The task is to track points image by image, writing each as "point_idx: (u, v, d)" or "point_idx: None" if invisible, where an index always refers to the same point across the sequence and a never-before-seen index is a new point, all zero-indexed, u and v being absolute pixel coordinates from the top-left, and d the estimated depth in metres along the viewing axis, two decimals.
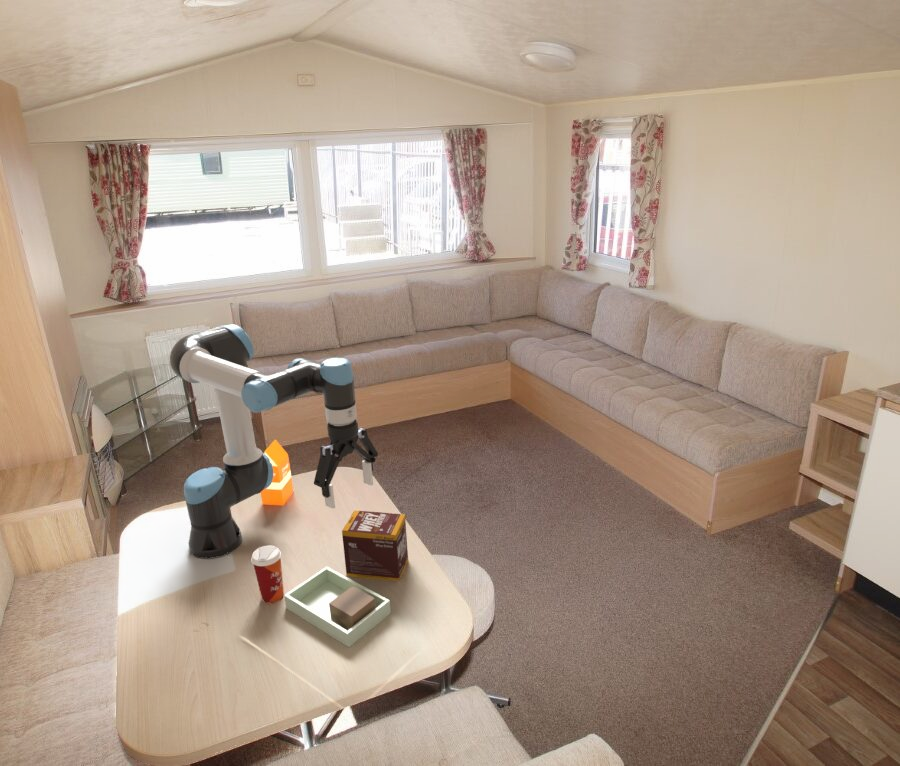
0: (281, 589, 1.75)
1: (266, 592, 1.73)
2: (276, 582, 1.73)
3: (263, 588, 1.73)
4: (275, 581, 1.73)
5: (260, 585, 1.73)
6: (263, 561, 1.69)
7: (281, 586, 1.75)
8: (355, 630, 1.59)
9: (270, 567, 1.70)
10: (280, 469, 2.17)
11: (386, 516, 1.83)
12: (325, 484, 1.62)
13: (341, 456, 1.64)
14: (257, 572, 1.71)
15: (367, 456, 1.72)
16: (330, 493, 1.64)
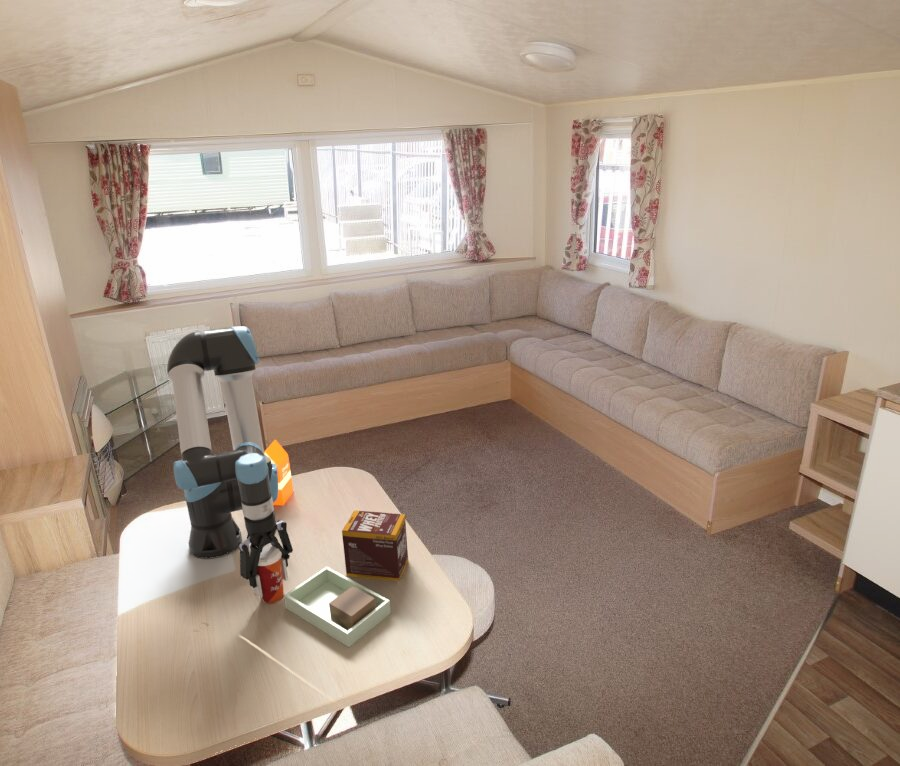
0: (281, 589, 1.75)
1: (266, 592, 1.73)
2: (276, 582, 1.73)
3: (263, 588, 1.73)
4: (275, 581, 1.73)
5: None
6: (263, 561, 1.69)
7: (281, 586, 1.75)
8: (355, 630, 1.59)
9: (270, 567, 1.70)
10: (280, 469, 2.17)
11: (386, 516, 1.83)
12: (251, 576, 1.69)
13: (260, 548, 1.68)
14: (257, 571, 1.71)
15: (282, 551, 1.75)
16: (257, 583, 1.71)
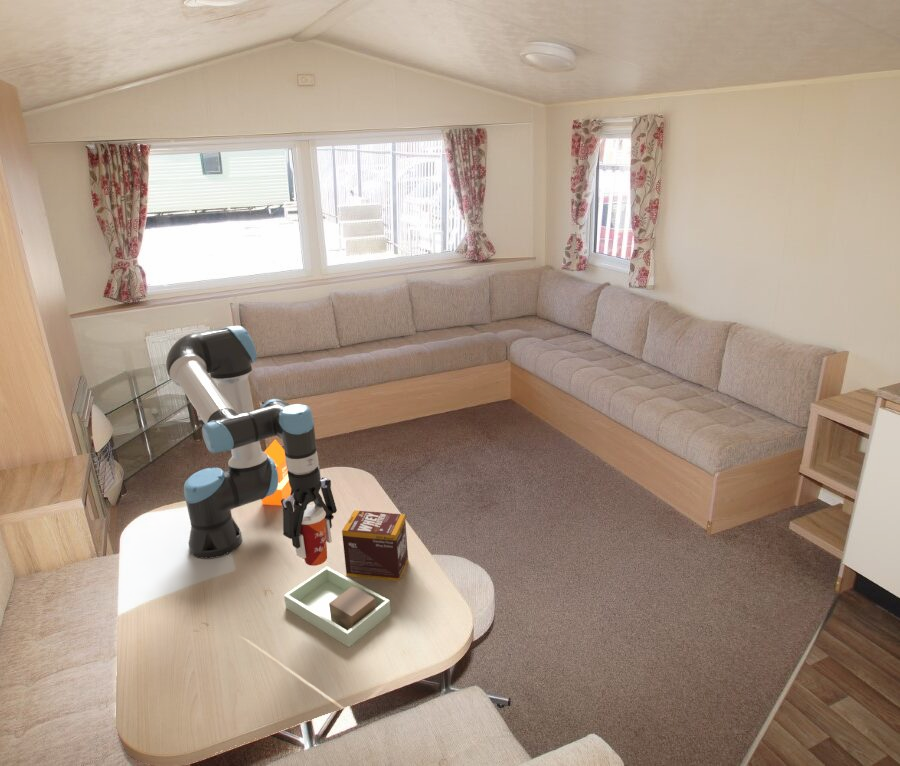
0: (325, 551, 1.66)
1: (309, 553, 1.64)
2: (320, 543, 1.63)
3: (307, 549, 1.63)
4: (319, 541, 1.63)
5: None
6: (307, 519, 1.60)
7: (325, 548, 1.66)
8: (355, 630, 1.59)
9: (315, 526, 1.61)
10: (280, 469, 2.17)
11: (386, 516, 1.83)
12: (295, 536, 1.59)
13: (304, 505, 1.59)
14: (301, 531, 1.62)
15: (326, 511, 1.66)
16: (300, 544, 1.61)
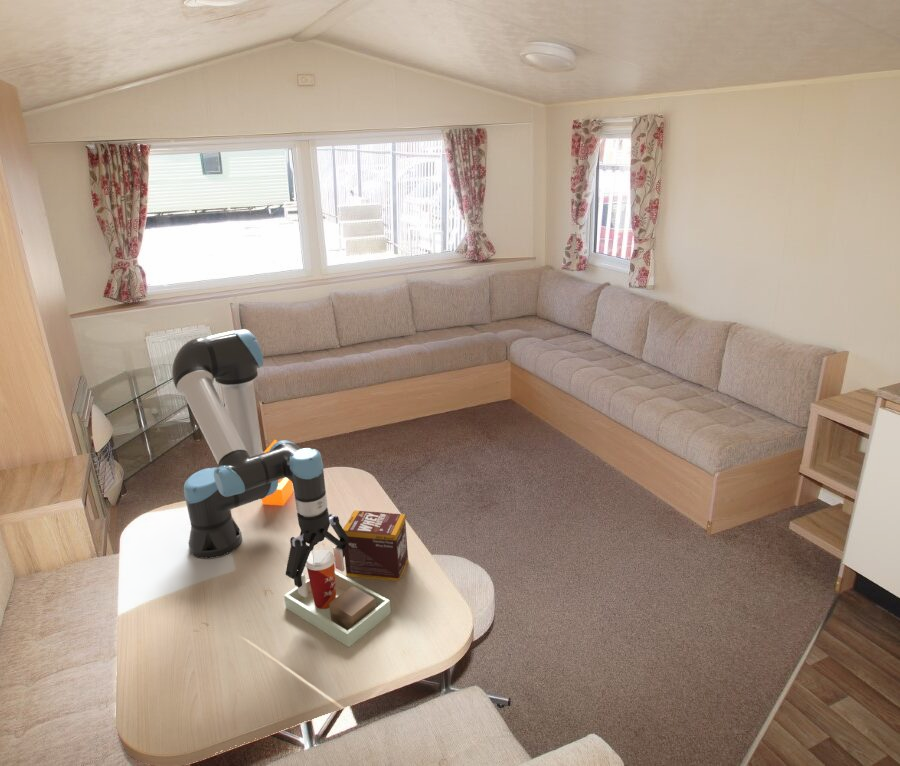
0: (334, 594, 1.72)
1: (319, 597, 1.69)
2: (330, 587, 1.69)
3: (317, 593, 1.69)
4: (329, 586, 1.69)
5: (314, 590, 1.69)
6: (318, 565, 1.66)
7: (334, 591, 1.71)
8: (355, 630, 1.59)
9: (325, 572, 1.66)
10: None
11: (386, 516, 1.83)
12: (297, 575, 1.62)
13: (312, 546, 1.63)
14: (311, 576, 1.67)
15: (338, 543, 1.71)
16: (302, 583, 1.64)
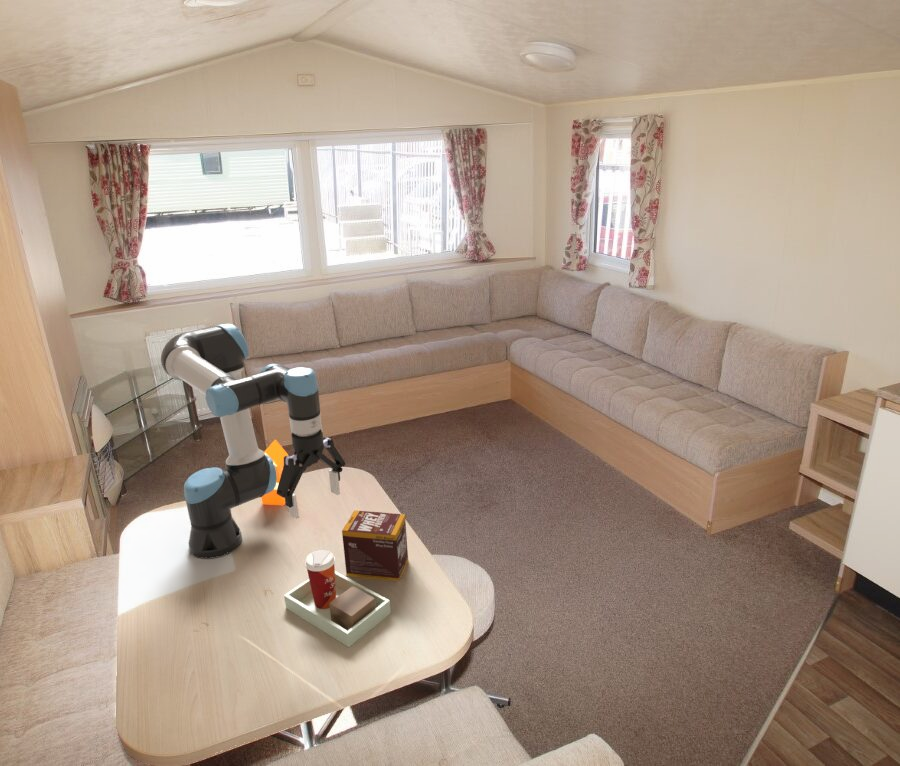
0: (334, 595, 1.72)
1: (319, 598, 1.69)
2: (330, 588, 1.69)
3: (317, 594, 1.69)
4: (329, 586, 1.69)
5: (314, 591, 1.69)
6: (318, 566, 1.65)
7: (334, 592, 1.71)
8: (355, 630, 1.59)
9: (325, 573, 1.66)
10: (280, 469, 2.17)
11: (386, 516, 1.83)
12: (288, 494, 1.61)
13: (305, 466, 1.62)
14: (311, 577, 1.67)
15: (333, 466, 1.70)
16: (293, 503, 1.63)
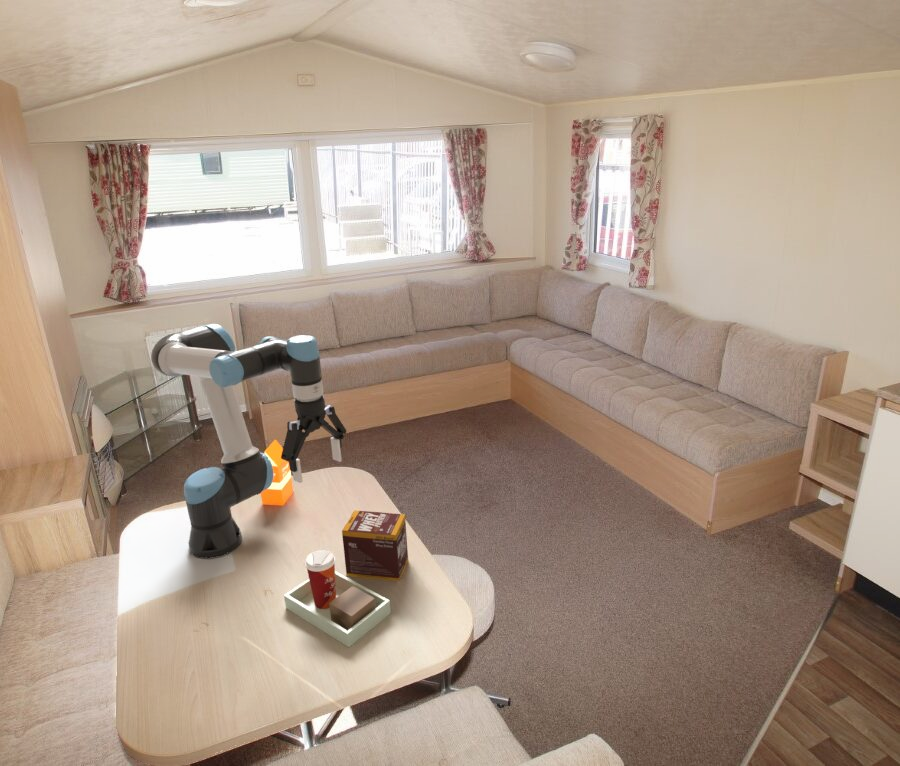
0: (334, 595, 1.72)
1: (319, 598, 1.69)
2: (330, 588, 1.69)
3: (317, 594, 1.69)
4: (329, 586, 1.69)
5: (314, 591, 1.69)
6: (318, 566, 1.65)
7: (334, 592, 1.71)
8: (355, 630, 1.59)
9: (325, 573, 1.66)
10: (280, 469, 2.17)
11: (386, 516, 1.83)
12: (292, 458, 1.66)
13: (308, 431, 1.68)
14: (311, 577, 1.67)
15: (335, 433, 1.76)
16: (297, 467, 1.68)
